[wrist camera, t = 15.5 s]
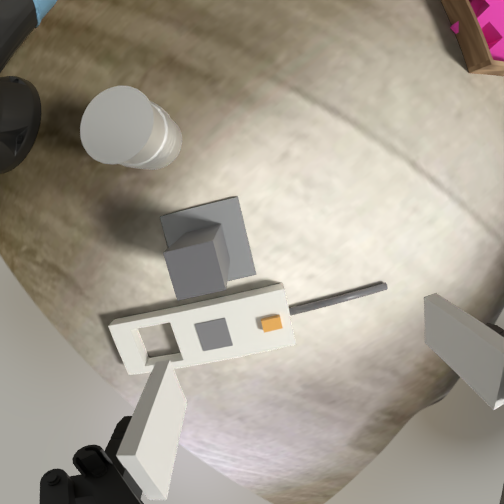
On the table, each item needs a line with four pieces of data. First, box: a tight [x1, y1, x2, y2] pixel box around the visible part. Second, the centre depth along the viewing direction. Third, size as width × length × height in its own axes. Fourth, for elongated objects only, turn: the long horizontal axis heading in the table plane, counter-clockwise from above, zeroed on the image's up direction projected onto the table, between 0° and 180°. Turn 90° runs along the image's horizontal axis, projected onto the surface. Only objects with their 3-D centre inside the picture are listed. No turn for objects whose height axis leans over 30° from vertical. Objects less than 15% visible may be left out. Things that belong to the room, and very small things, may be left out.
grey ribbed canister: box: [80, 86, 182, 170], centre depth 31 cm, size 7×7×15 cm
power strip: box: [108, 283, 387, 375], centre depth 41 cm, size 38×8×3 cm, turn 103°
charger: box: [163, 224, 230, 301], centre depth 35 cm, size 5×5×12 cm
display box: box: [441, 0, 504, 76], centre depth 32 cm, size 14×16×6 cm
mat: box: [160, 197, 256, 281], centre depth 41 cm, size 10×10×1 cm
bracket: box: [450, 0, 504, 61], centre depth 29 cm, size 12×10×10 cm
